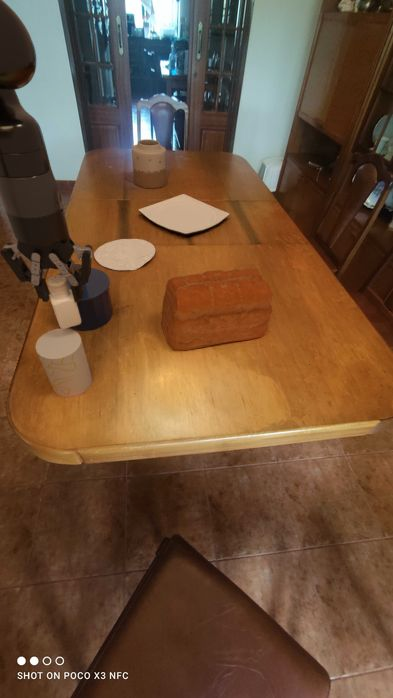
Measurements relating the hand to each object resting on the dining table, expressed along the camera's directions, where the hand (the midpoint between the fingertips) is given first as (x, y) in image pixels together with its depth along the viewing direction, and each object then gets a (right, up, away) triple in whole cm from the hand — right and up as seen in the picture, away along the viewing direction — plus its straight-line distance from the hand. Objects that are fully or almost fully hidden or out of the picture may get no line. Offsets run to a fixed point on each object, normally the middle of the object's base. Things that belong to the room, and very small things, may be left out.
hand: (62, 299), depth 57 cm
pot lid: (-4, +7, +20) cm, 21 cm away
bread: (+29, -3, +27) cm, 39 cm away
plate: (+19, +43, +70) cm, 85 cm away
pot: (-5, 0, +27) cm, 27 cm away
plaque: (0, +22, +49) cm, 54 cm away
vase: (+2, +70, +94) cm, 118 cm away
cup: (-3, -16, +12) cm, 20 cm away
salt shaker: (0, -4, +4) cm, 6 cm away
